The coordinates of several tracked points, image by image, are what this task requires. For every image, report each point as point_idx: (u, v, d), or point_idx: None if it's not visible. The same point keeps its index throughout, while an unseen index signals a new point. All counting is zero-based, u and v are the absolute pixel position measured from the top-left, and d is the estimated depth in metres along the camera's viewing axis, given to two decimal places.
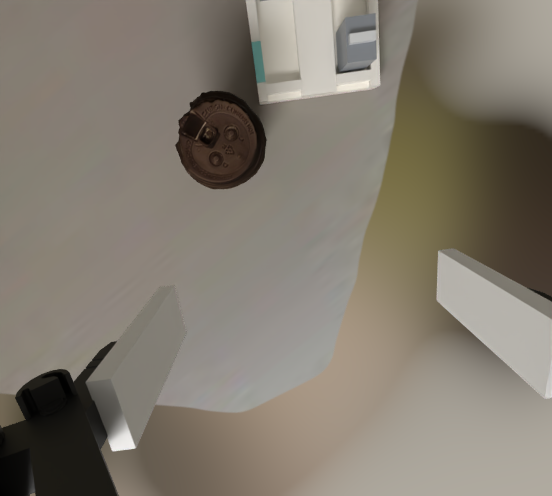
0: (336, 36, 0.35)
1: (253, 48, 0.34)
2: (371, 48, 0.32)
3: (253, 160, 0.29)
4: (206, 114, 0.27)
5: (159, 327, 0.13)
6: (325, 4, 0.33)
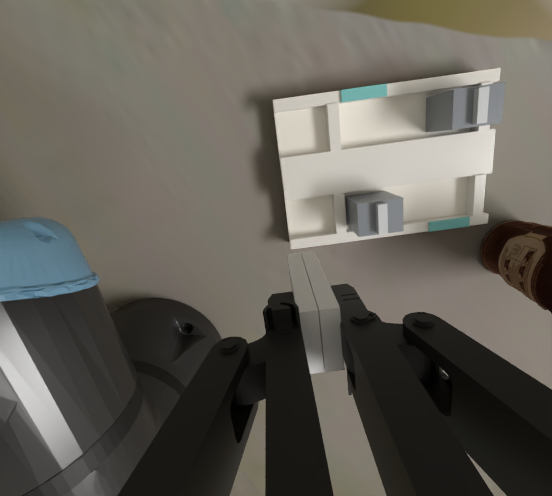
0: (430, 131, 0.29)
1: (435, 229, 0.31)
2: (491, 91, 0.24)
3: None
4: None
5: None
6: (402, 148, 0.29)
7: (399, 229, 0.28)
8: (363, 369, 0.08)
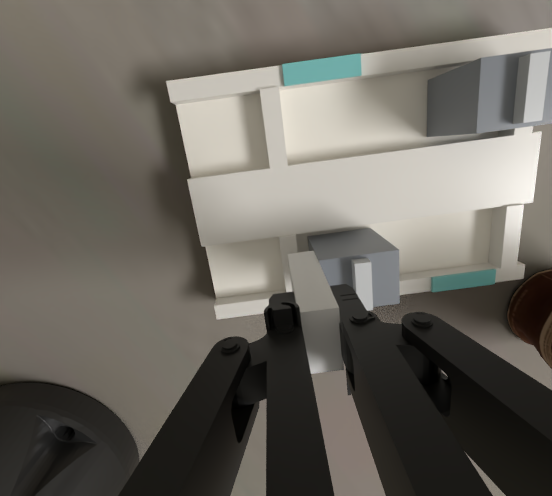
0: None
1: (442, 289, 0.20)
2: (551, 61, 0.13)
3: None
4: None
5: None
6: (389, 163, 0.18)
7: (392, 301, 0.16)
8: (362, 369, 0.08)
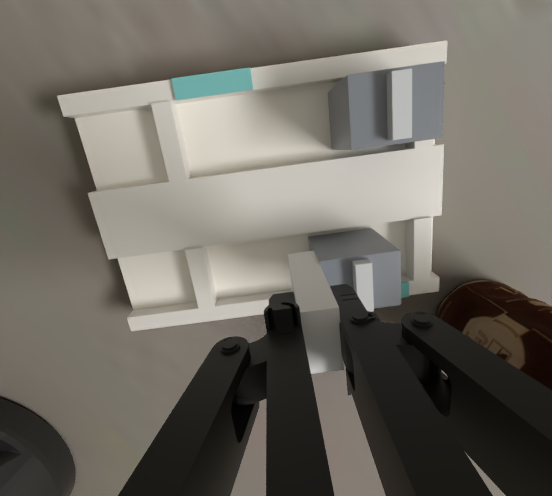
0: None
1: None
2: (420, 78, 0.13)
3: None
4: None
5: None
6: (291, 176, 0.18)
7: (394, 302, 0.16)
8: (362, 369, 0.08)
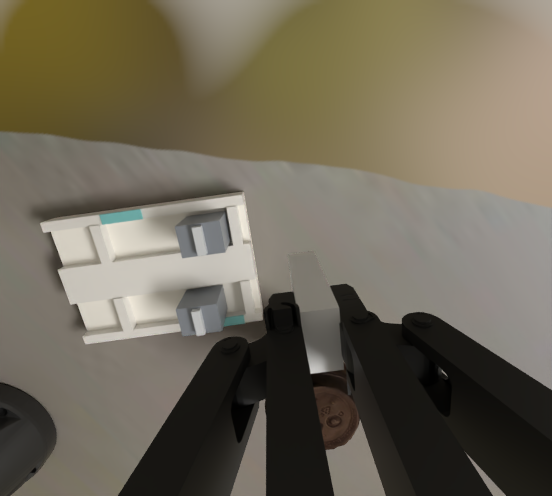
0: None
1: None
2: (209, 227, 0.28)
3: (336, 384, 0.26)
4: None
5: None
6: (168, 260, 0.32)
7: (218, 329, 0.31)
8: (362, 369, 0.08)
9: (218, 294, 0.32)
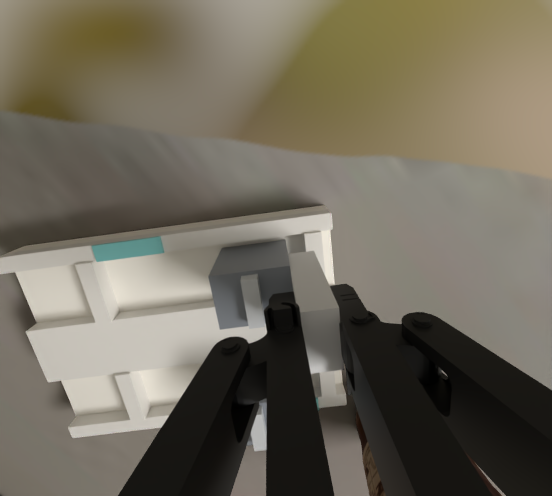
0: None
1: None
2: (270, 278, 0.15)
3: None
4: None
5: None
6: (204, 317, 0.20)
7: None
8: (362, 369, 0.08)
9: None
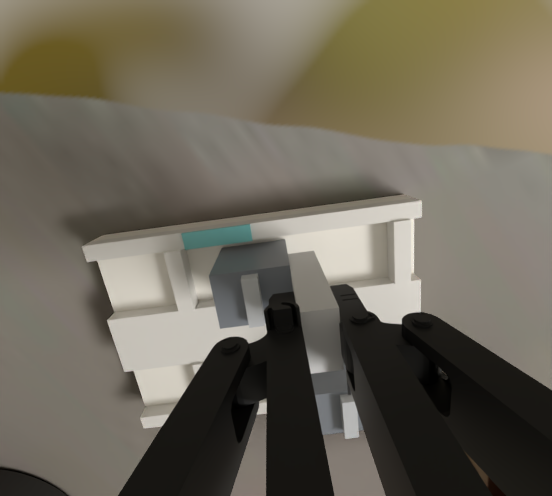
0: None
1: None
2: (270, 277, 0.15)
3: None
4: None
5: None
6: None
7: None
8: (362, 369, 0.08)
9: None
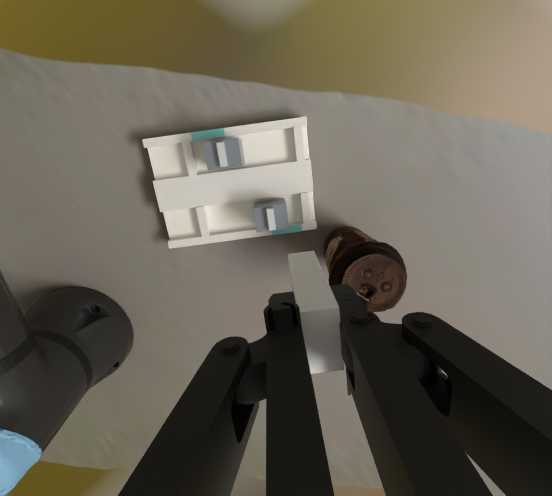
0: None
1: (276, 233, 0.42)
2: (229, 144, 0.35)
3: (388, 255, 0.33)
4: None
5: None
6: (243, 173, 0.39)
7: (286, 227, 0.38)
8: (362, 369, 0.08)
9: (284, 201, 0.39)
